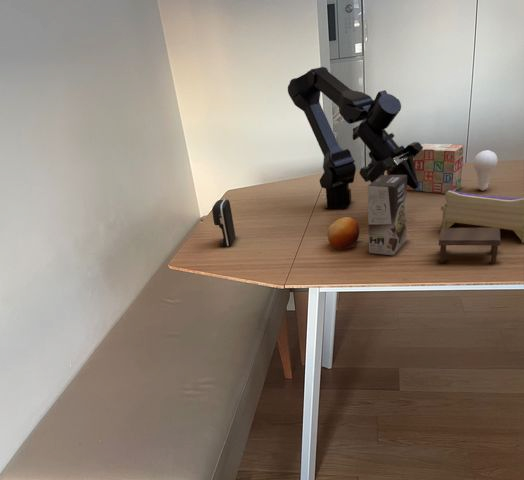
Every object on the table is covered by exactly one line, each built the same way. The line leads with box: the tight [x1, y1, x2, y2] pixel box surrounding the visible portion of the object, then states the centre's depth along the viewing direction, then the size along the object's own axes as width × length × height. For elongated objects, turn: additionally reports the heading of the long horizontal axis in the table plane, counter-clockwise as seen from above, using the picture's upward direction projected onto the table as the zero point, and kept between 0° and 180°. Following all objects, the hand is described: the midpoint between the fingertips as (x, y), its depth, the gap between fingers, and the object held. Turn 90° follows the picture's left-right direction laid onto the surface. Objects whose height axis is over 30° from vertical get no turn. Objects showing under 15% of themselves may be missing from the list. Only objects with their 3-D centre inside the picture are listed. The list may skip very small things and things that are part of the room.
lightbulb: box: [473, 149, 499, 191], centre depth 145 cm, size 6×6×11 cm
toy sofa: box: [440, 191, 524, 244], centre depth 121 cm, size 21×9×10 cm, turn 49°
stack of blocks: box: [386, 143, 465, 195], centre depth 154 cm, size 21×6×12 cm, turn 49°
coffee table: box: [438, 227, 501, 265], centre depth 112 cm, size 12×7×6 cm, turn 71°
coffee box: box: [367, 174, 408, 256], centre depth 120 cm, size 9×6×16 cm
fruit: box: [326, 216, 360, 250], centre depth 127 cm, size 8×8×8 cm
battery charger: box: [211, 198, 237, 247], centre depth 139 cm, size 7×4×11 cm, turn 171°
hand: (416, 187), depth 130 cm, fingers closed
